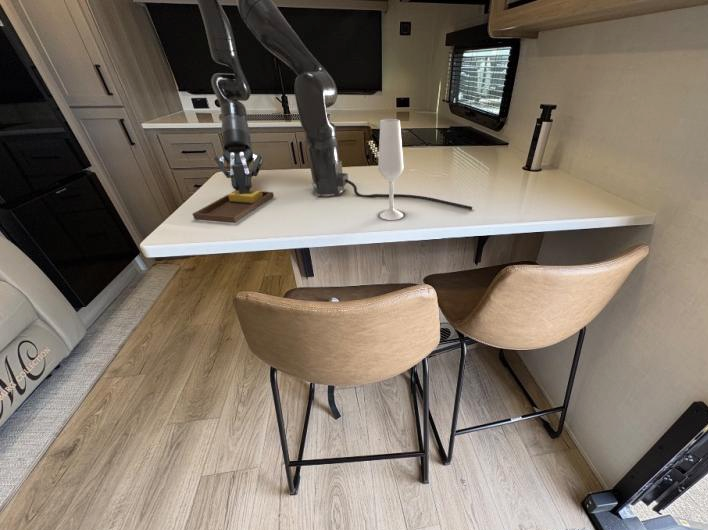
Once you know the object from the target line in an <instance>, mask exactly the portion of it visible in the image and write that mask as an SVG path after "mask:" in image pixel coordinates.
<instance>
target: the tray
mask: <svg viewBox="0 0 708 530" xmlns="http://www.w3.org/2000/svg"><path fill="white" fill-rule="evenodd" d="M262 194H263V197H262V198H260V199H259V200H257V201H256V202H254V203H253V204H251V205H250V204H238V203H230V200H229V197H228V194H226V195H224V196H223V197H221V198H219V199H217V200H215V201H213V202H211V203H210V204H208V205H206V206H204V207H202V208H200V209H199V210H196V211H195V212H193V213H192V216H193V219H194V220H198V221H199V220H200V221H208V222H221V223H232V224H236V223H238V222H239V221H241V220H242V219H244V218H245V217H247V216H249V215H250V214H251V213H253V212H254V211H255V210H257V209H258V208H260V207H261V206H263V205H265V204H266V203H267V202H269V201H271V200H272V199H274V198H275V195H274V192H273V191H262Z"/></svg>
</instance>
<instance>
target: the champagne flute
mask: <svg viewBox="0 0 708 530" xmlns="http://www.w3.org/2000/svg"><path fill="white" fill-rule="evenodd" d="M401 129H402V128H401V120H400V119H395V118H386V119H385V118H384V119H380V122H379V139H378V140H379V143H378V161H377V162H378V163H377V169H378V171H379V174H380V175H381V176H382V177H383V178H384V179H385V180H387V181H388V194H389V197H388V205H389V206H388V207H389V208H388V209H386V210H385V211H383V212H381V213H380V215H379V217H380V218H381V219H383V220H387V221H395V220H400V219H402V218H403V217H404V214H403V213H402V212H400V211H398V210H397V209H395V207H394V206H395V205H394V203H395V202H394V197H393V194H394V181H395V180H397V179H398V178H399V177H400V176H401V174H402V173H403V171H404V154H403V142H402V130H401Z"/></svg>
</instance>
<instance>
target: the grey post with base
mask: <svg viewBox="0 0 708 530" xmlns="http://www.w3.org/2000/svg"><path fill="white" fill-rule="evenodd" d="M232 169H233V173H234V176H235V180H236V183H237V186H238V189H239V191H236V190H235V189H234V191H232V192H229V193H228V194H227V195H228V197H229V200H230V203H238V204H250V205H251V204H253V203H254V202H256V201H257V200H259V199H260V198H262V197H263V194H262V192H263V190H261V189H250V190H247V188H246V185H245V171H244V168H243V164H233V165H232Z"/></svg>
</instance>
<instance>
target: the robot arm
mask: <svg viewBox="0 0 708 530" xmlns="http://www.w3.org/2000/svg"><path fill="white" fill-rule="evenodd" d="M235 1H236V6H237V9H238V12H239V15H240V17H241V19H242V21H243V22H244V24H245V25H246V27H247V29H249V31H250V32H251V33H252V34H253V36H254V37H255V38H256V39H257V40H258V42H259V43H260V44H261V45H262V46H263V47H264V48H265V49H266V50H267V51H268V52H270V53H271V54H273V56H275V57H276V58H278V59H279V60H281V62H283V63H284V64H285V65H287V66H288V67H289V68H290V69H291V70H292V71H293V72H294V73H295V75H297V76H296V78H295V82H294V86H293V87H294V90H293V91H294V98H295V104H296V107H297V113H298V118H299V122H300V125H301V127H302V129H303V131H304V135H305V142H306V143H305V144H306V148H307V155H308V162H309V167H310V174H311V180H312V182H311V186H312V187H313V194H314V195H317V196H319V197H335V196H336V197H338V196H340V195H341V194H342V193H343V192H344V191H345V187H346V185H347V184H349V185H350V186H352V187H353V192H354V194H355V195H356V196H357V197H359V198H361V197H362V198H389V193H373V194H372V193H371V194H361V193H359V192H358V187H357V185H356V184H355V183H354V182H352V181H351V180H349V174H348V173H347V172H343V163H342V160H340V156H339V147H338V146H339V145H338V138H337V128H336V125H335V124H334V123H332V122H330V119H329V118H328V114H327V108H330V107H332V106H333V105H335V103H336V102H337V99H338V89H337V85H336V83H335V81H334V79H333V77H332V76H331V75H330V73H328V71H327V70H326V69H325V67H324V66H323V65H322V64H321V63H320V62H319V61H318V60H317V59H316V57H314V55H313V54H312V53H311V52H310V50H309V49H308V48H307V47H306V46H305V44H304V43H303V42H302V40H301V39H300V37H299V35H298V34H297V33H296V32H295V30H294V29H293V28H292V26H291V25H290V24H289V22H288V21H287V19H286V18H285V17H284V15H283V14H282V12H281V11H280V10H279V8H278V7H277V5H276V4H275V3H274V1H273V0H235ZM196 2H197V5H198V8H199V11H200V14H201V18H202V21H203V25H204V29H205V33H206V37H207V41H208V42H207V43H208V46H209V50H210V51H209V52H210V55H211V58H212V60H213V61H214V62H215V63H217V64H220V65H223V66H227V67H229V68H230V69H231V70H232V72H233V73H226V72H225V73H223V72H217V73H214V74H213V75H212V76H211V82H210V84H211V88H212V90H213V92H214V94H215V97H216V99H217V101H218V104H219V107H220V112H221V114H220V115H221V132H222V142H223V153H222V156H220V157H218V156H215V157H214V158H213V159H214V161H215V163H216V164H217V166H218V167H219V168H220V170H221V172H222V174H224V176H225V177H226V179H230V182H231V186H232V188H233V189H234V191H235V190H236V191H239V189H238V186H237V183H236V180H235V176H234V173H233V169H232V165H233V164H243V168H244V171H245V185H246V188H247V190H251V189H252V188H253V184H252V178H253V177H257V176H258V174H259V172H260V170H261V168H262V165H263V162H264V159H263V158H262V156H261V155H260V154H254V152H253V150H252V142H251V133H250V127H249V124H248V116H247V109H246V106H245V104H243V103H242V102H245V101H248V100H249V99H250V97H251V88H250V84H249V82H248V80H247V77H246V75H245V72H244V71H243V69H242V65H241V64H240V60H239V57H238V52H237V46H236V42H235V41H236V40H235V36H234V32H233V28H232V26H231V23H230V20H229V18H228V16H227V14H226V12H225V11H224V9H223V7H222V5H221V3H220V1H219V0H196ZM225 161H226V162H227V164H229V171H228V170H227V168H226V167H225V164H226V162H225ZM252 161H253V163H252ZM251 163H252V167H251V169H250V164H251ZM393 198H405V199H416V200H417V199H418V200H423V201H424V200H425V201H429V202H435V203H438V204H444V205H448V206H453V207H457V208H461V209H466V210H470V211H471V210H473V206H470V205H466V204H462V203H457V202H452V201H447V200H444V199H439V198H435V197H429V196H423V195H416V194H405V193H404V194H402V193H393Z"/></svg>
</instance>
